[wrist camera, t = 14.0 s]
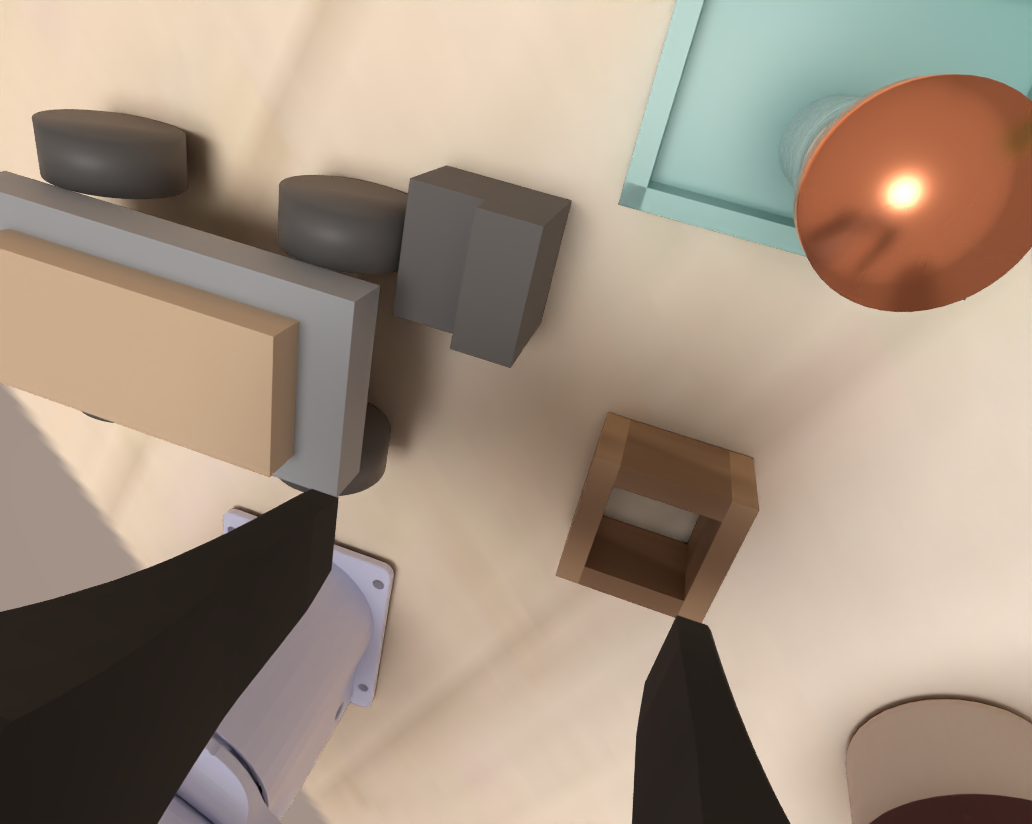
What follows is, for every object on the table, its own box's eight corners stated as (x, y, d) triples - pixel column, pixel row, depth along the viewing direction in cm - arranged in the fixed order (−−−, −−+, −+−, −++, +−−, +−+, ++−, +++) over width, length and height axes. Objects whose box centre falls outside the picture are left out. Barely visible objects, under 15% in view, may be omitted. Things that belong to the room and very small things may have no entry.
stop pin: (861, 226, 17) (973, 339, 10) (743, 192, 18) (762, 275, 10) (926, 95, 16) (1119, 110, 8) (794, 61, 16) (862, 46, 9)
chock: (541, 321, 22) (510, 367, 18) (429, 286, 22) (377, 326, 19) (572, 199, 20) (543, 226, 16) (448, 164, 20) (394, 183, 17)
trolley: (440, 201, 21) (336, 252, 15) (402, 450, 25) (312, 562, 20) (107, 106, 22) (-107, 118, 16) (131, 359, 27) (-27, 437, 21)
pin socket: (700, 567, 24) (699, 626, 22) (571, 523, 25) (555, 575, 22) (753, 458, 22) (759, 510, 19) (608, 412, 22) (594, 456, 20)
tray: (942, 280, 18) (964, 300, 16) (625, 193, 19) (618, 204, 18) (1111, -18, 14) (1159, -29, 13) (711, -104, 16) (711, -124, 14)
